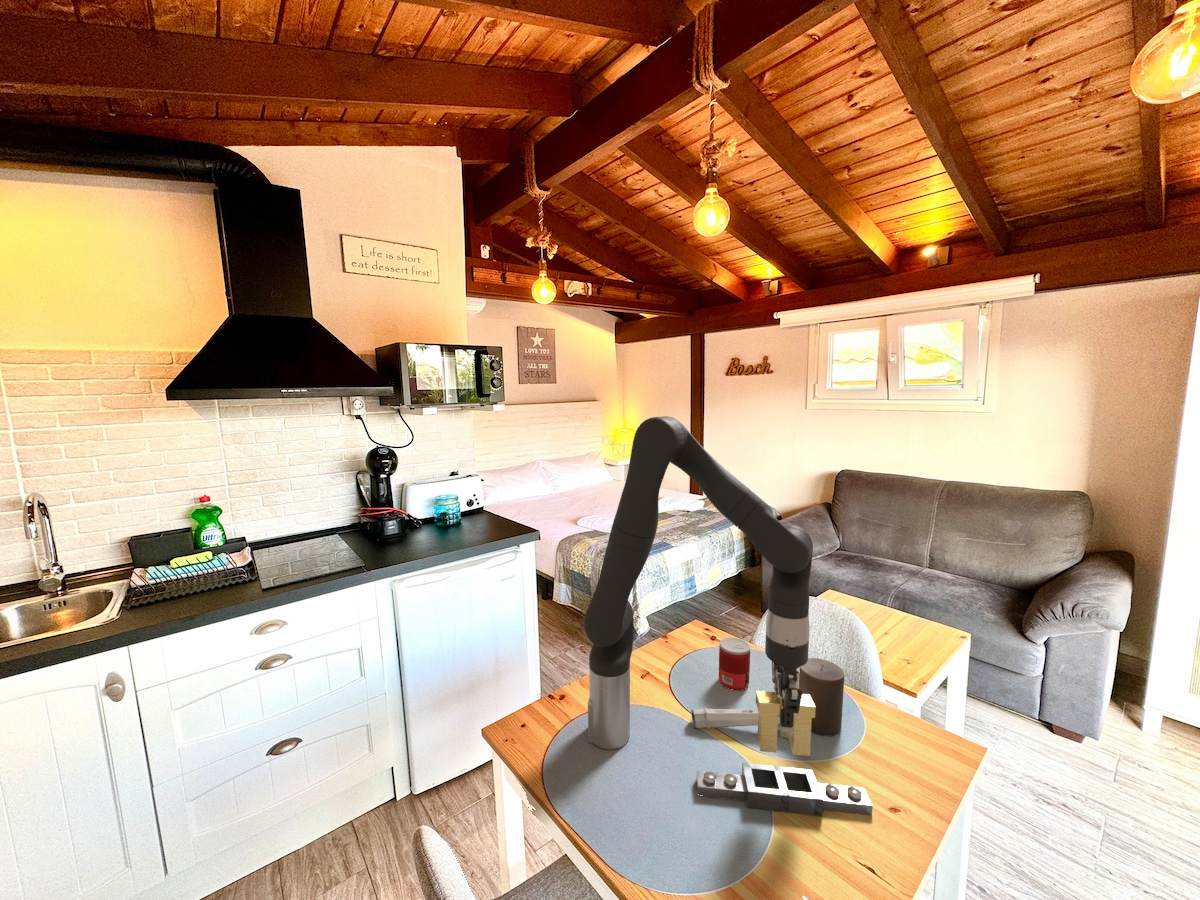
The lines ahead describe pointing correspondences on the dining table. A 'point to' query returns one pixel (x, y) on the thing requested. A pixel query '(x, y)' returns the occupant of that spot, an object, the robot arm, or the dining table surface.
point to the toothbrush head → (730, 719)
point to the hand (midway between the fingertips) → (783, 718)
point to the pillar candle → (824, 694)
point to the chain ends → (783, 790)
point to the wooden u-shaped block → (769, 723)
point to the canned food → (734, 663)
